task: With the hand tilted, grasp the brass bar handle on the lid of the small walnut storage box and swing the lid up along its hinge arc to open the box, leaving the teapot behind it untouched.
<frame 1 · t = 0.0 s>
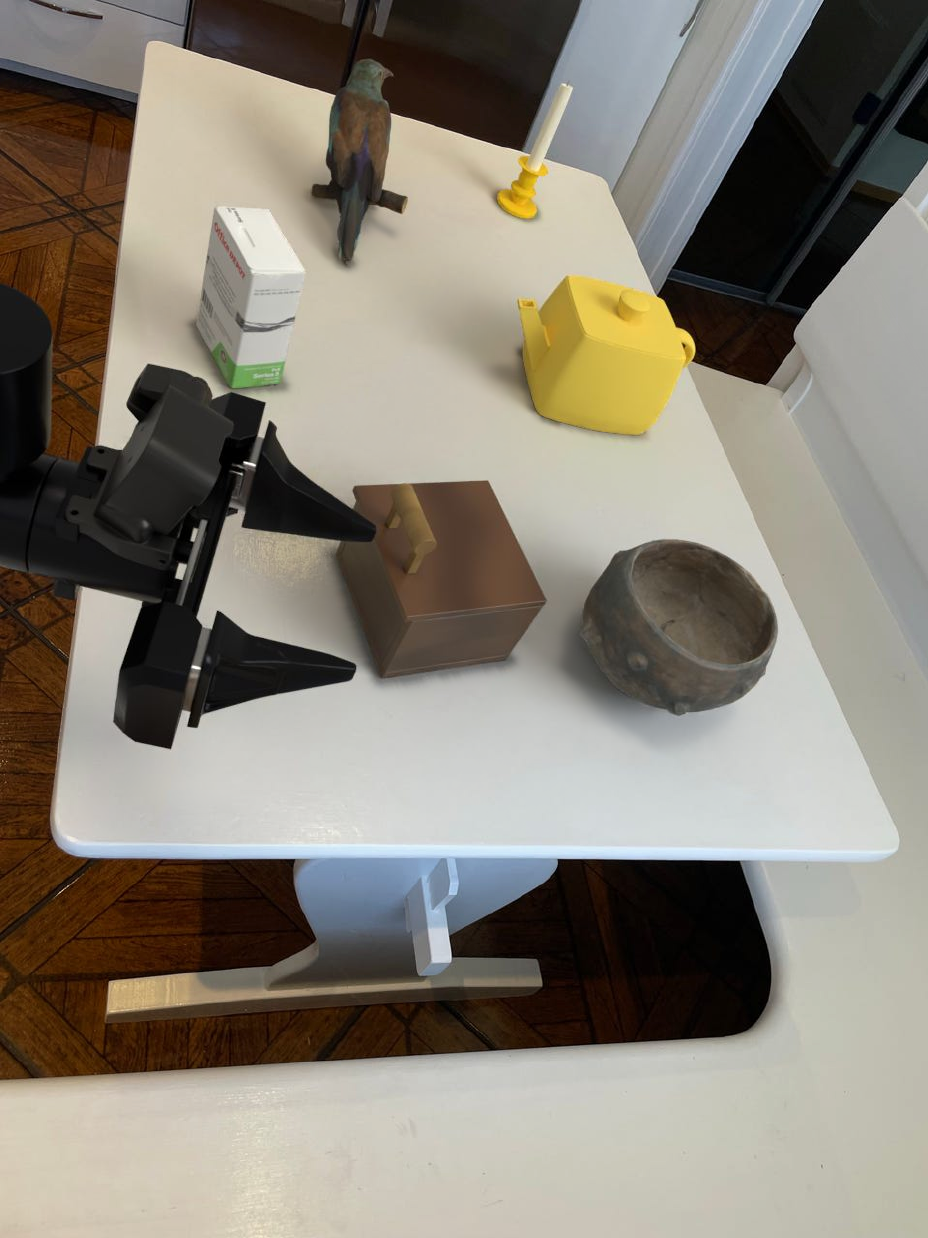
hand: (365, 599, 48), 18 cm above the table, tool horizontal, fingers open, 9 cm apart
bird figurine: (353, 215, 102), on the table
candle: (515, 207, 116), on the table
ink box: (236, 355, 82), on the table
teapot: (573, 391, 97), on the table
bowl: (637, 669, 77), on the table
chest: (420, 607, 72), on the table
lid: (458, 528, 65), point 10 cm above the table, hinge at 0.0°
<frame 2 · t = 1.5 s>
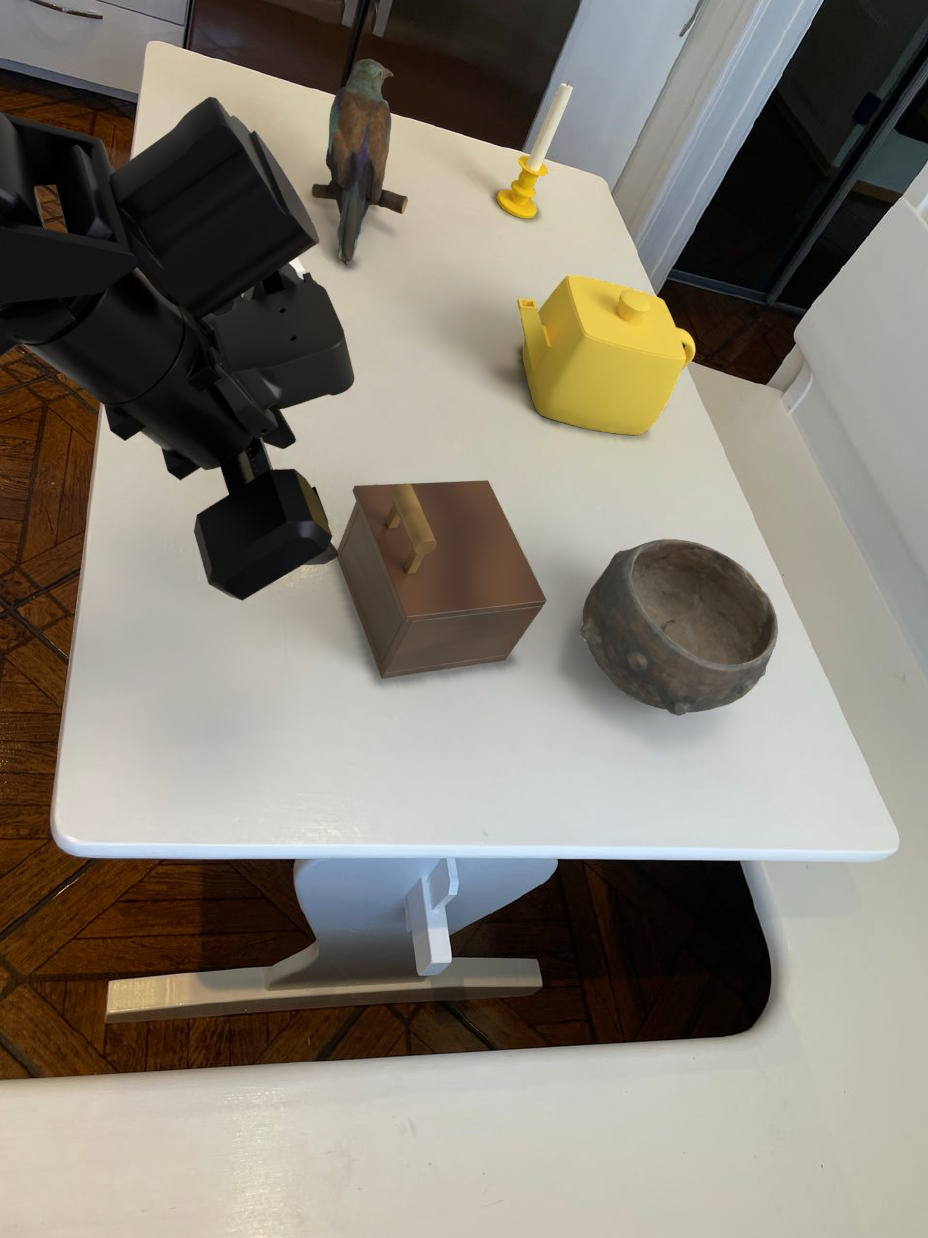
hand: (309, 498, 56), 14 cm above the table, tool tilted 45°, fingers open, 9 cm apart
nothing on the table moved.
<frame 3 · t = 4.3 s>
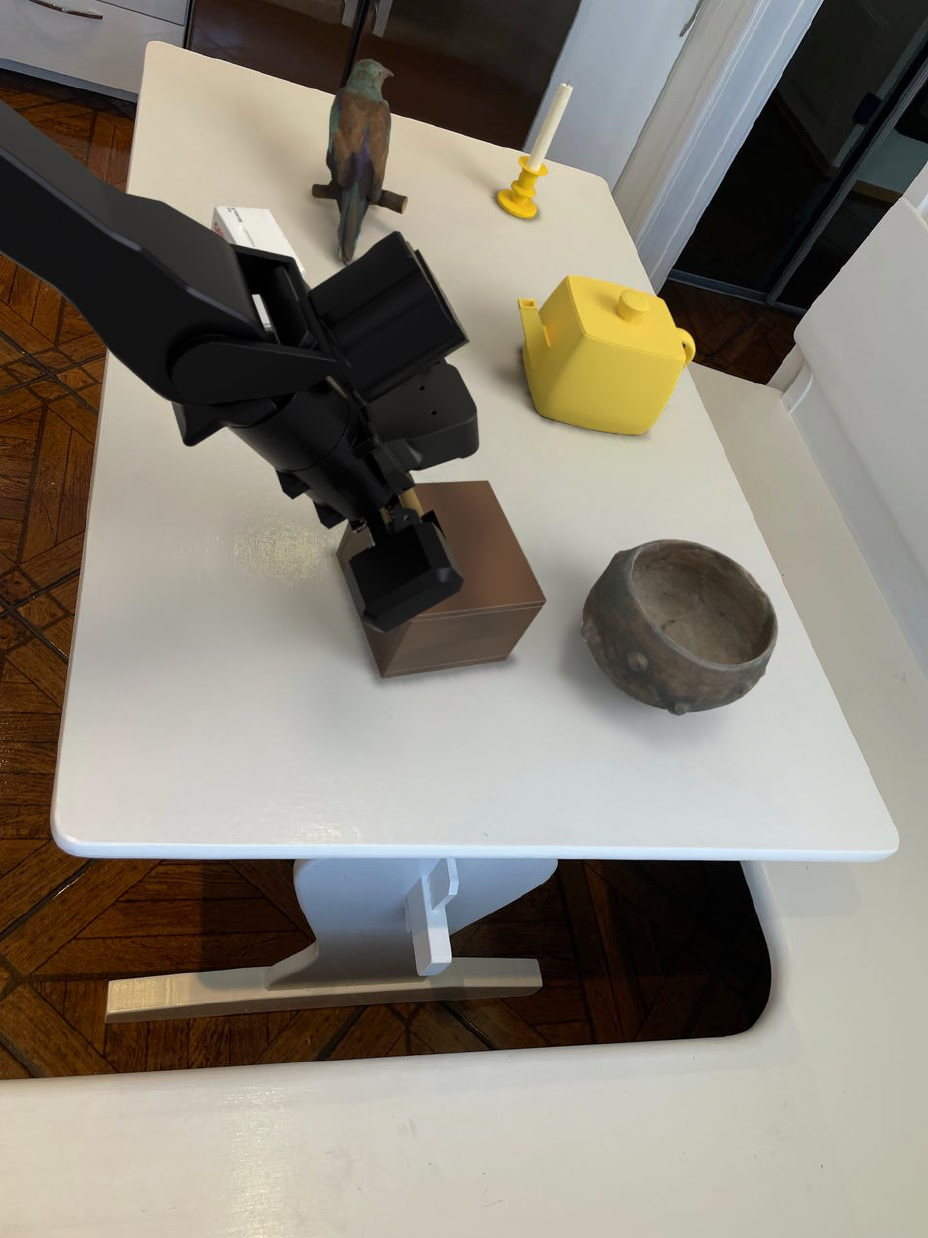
hand: (421, 539, 65), 9 cm above the table, tool tilted 45°, fingers closed on lid, 5 cm apart
lid: (458, 528, 65), point 10 cm above the table, hinge at 0.0°, touching gripper
everything else where it was.
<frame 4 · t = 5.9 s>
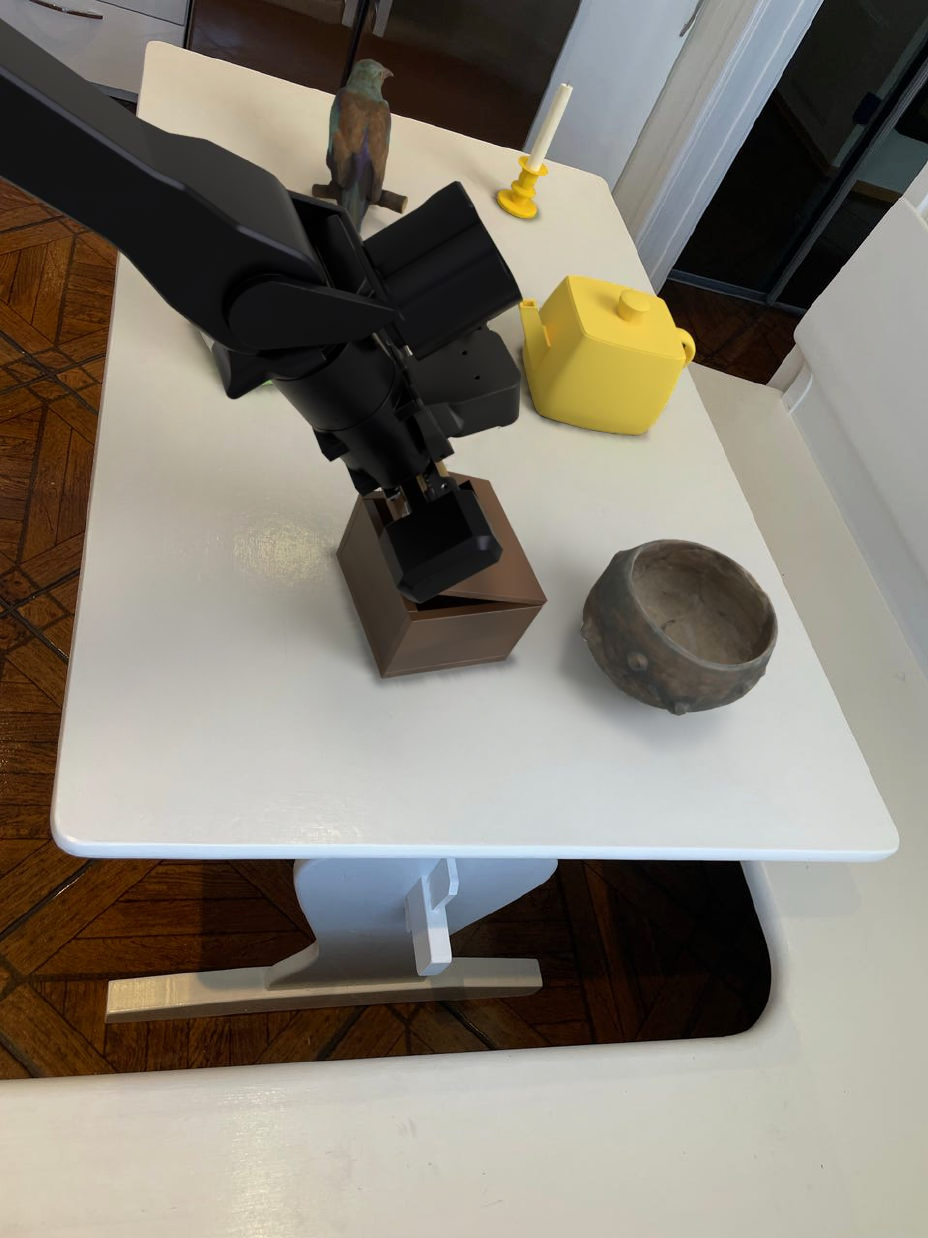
hand: (448, 515, 63), 11 cm above the table, tool tilted 40°, fingers closed on lid, 5 cm apart
lid: (475, 514, 64), point 11 cm above the table, hinge at 16.6°, touching gripper
everything else where it was.
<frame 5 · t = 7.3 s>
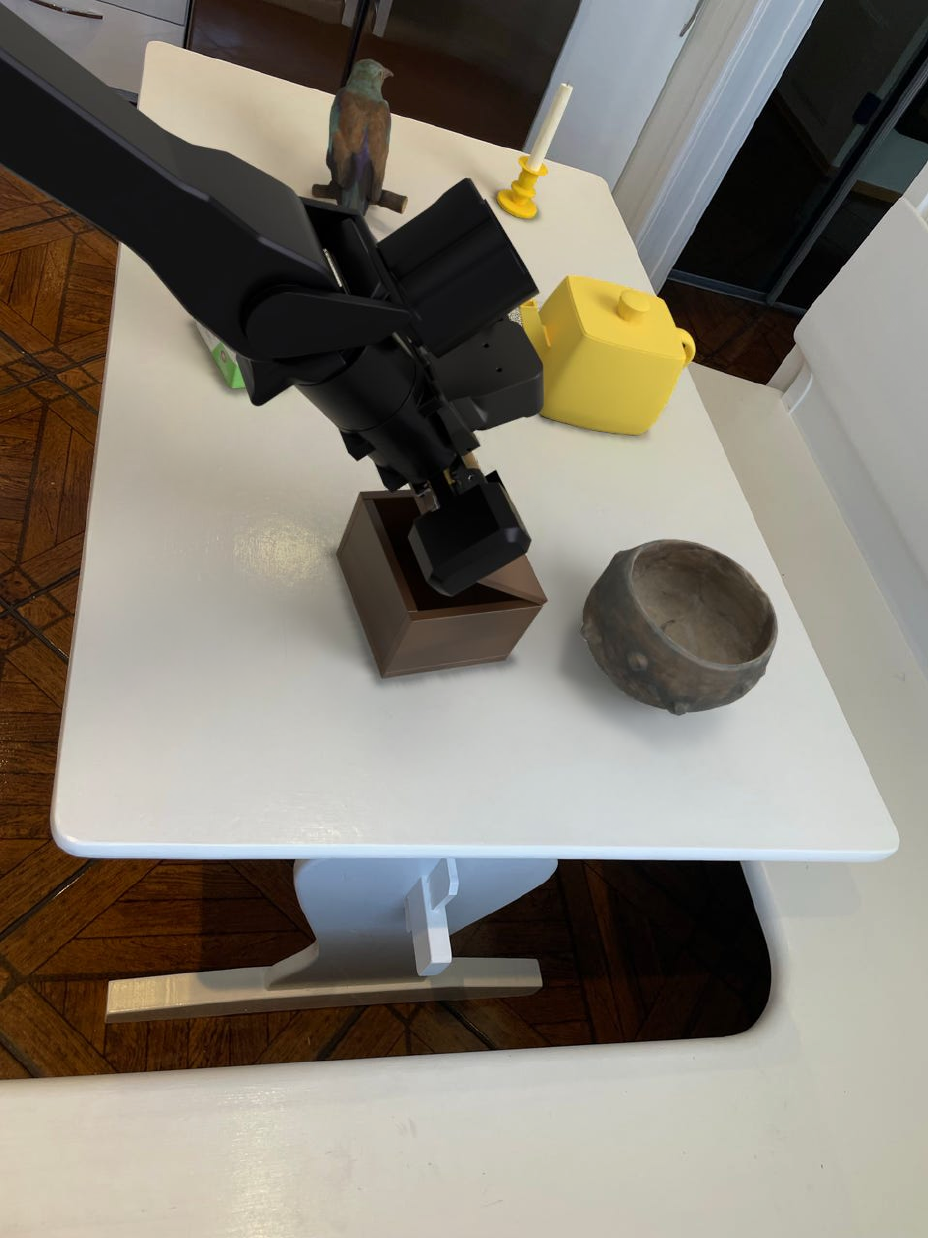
hand: (480, 504, 64), 12 cm above the table, tool tilted 45°, fingers closed on lid, 5 cm apart
lid: (489, 504, 64), point 12 cm above the table, hinge at 28.2°, touching gripper
everything else where it was.
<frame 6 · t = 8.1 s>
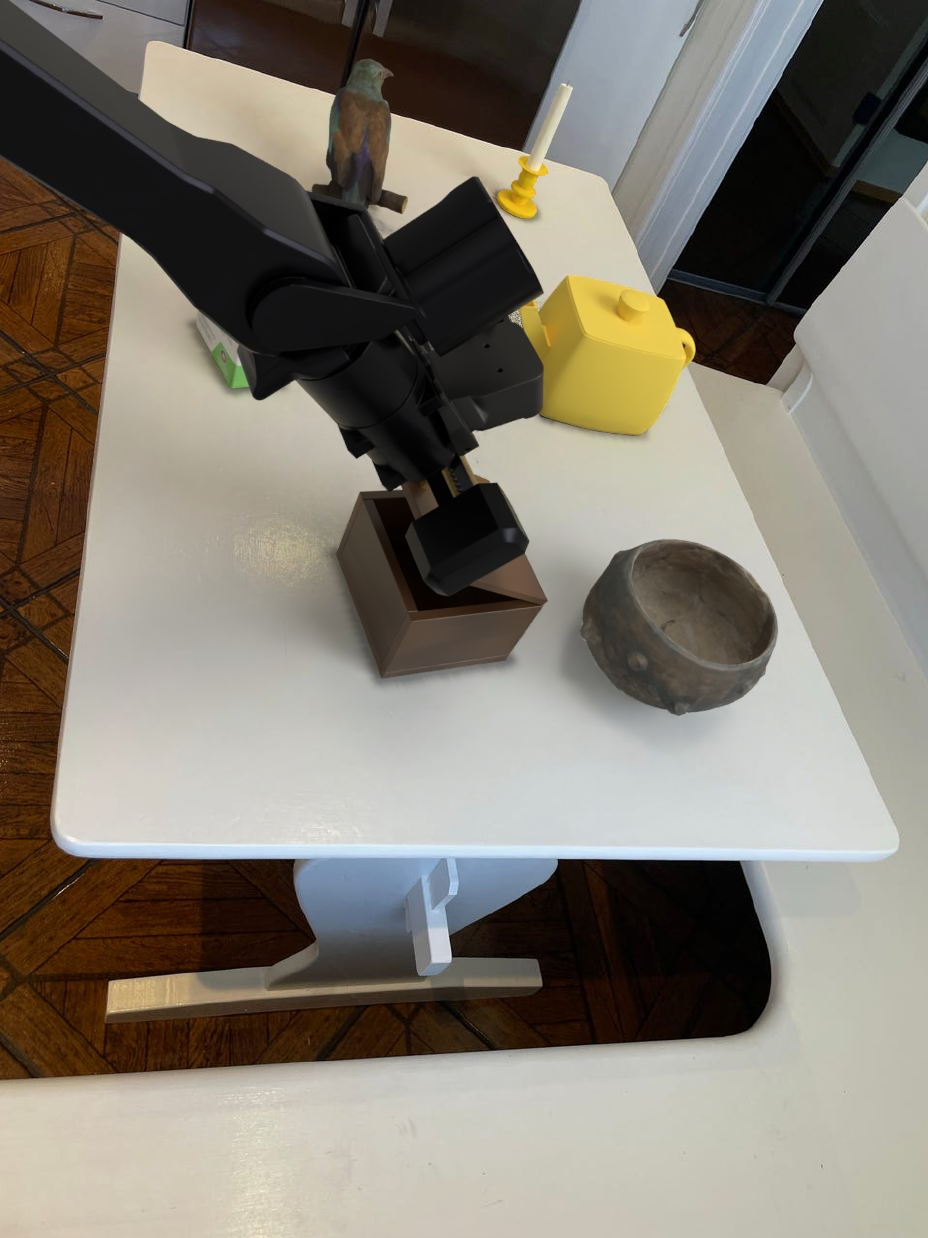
hand: (474, 506, 64), 12 cm above the table, tool tilted 45°, fingers open, 9 cm apart
lid: (486, 507, 64), point 12 cm above the table, hinge at 25.2°
everything else where it was.
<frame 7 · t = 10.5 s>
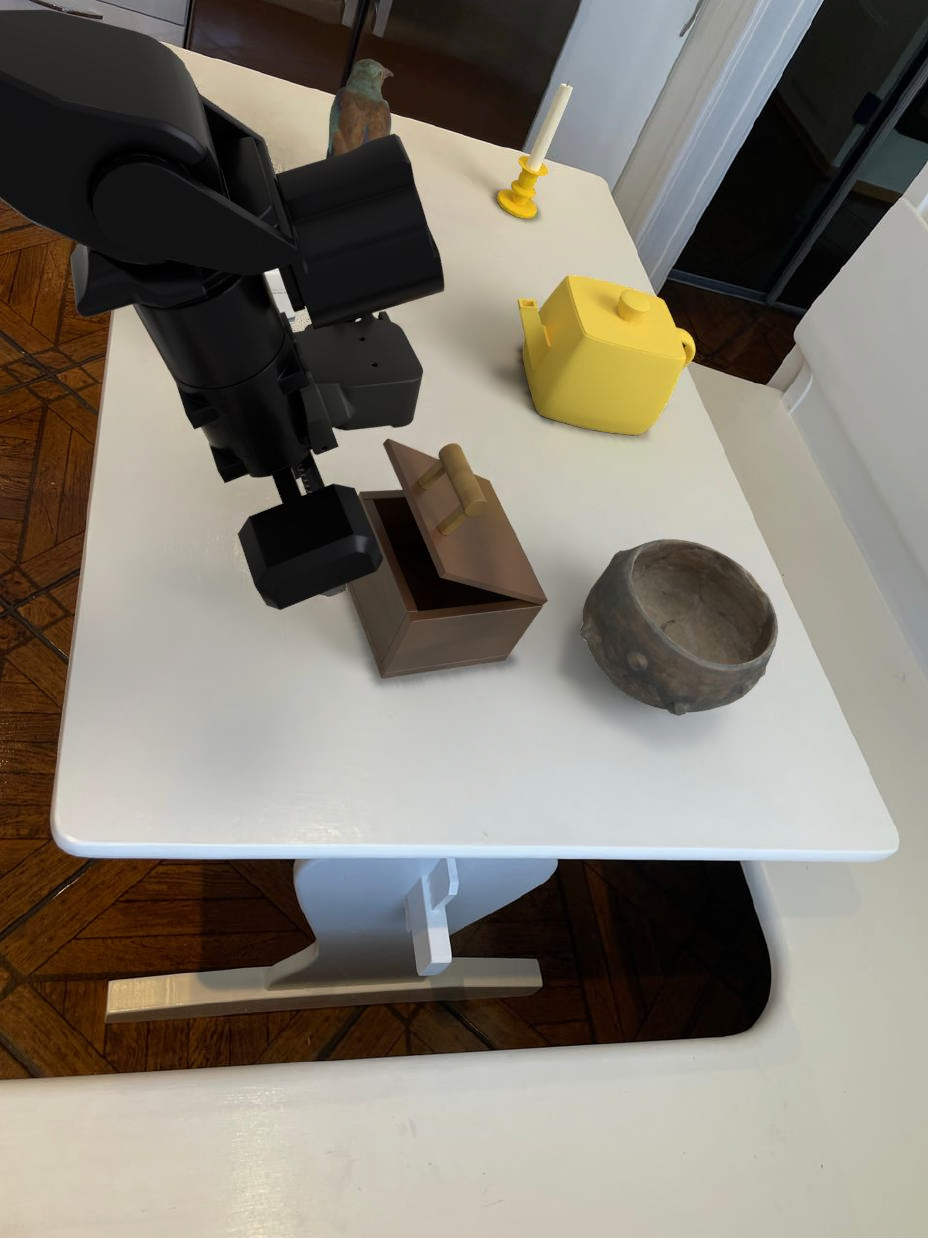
hand: (313, 532, 56), 13 cm above the table, tool tilted 30°, fingers open, 9 cm apart
nothing on the table moved.
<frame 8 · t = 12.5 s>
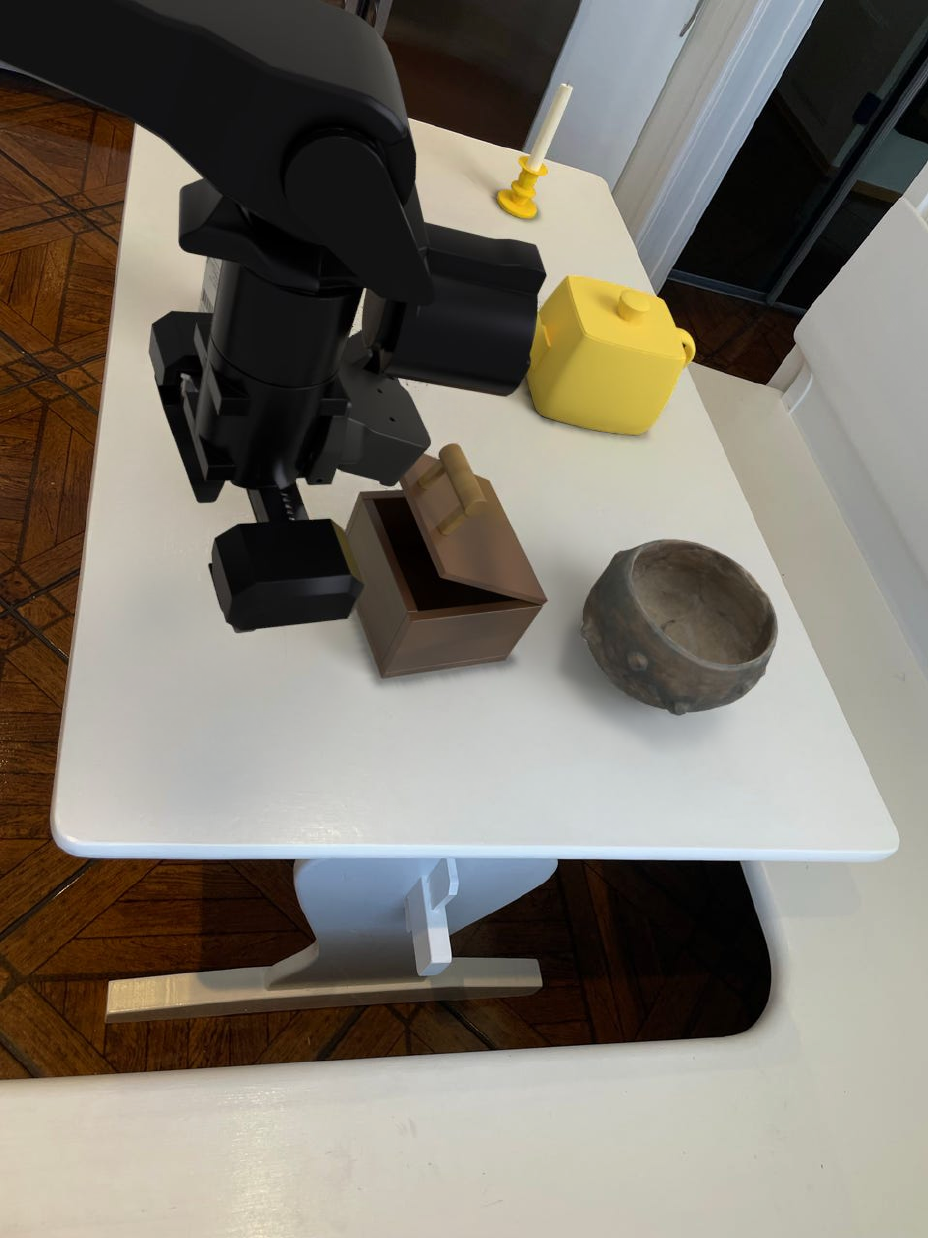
hand: (224, 562, 52), 13 cm above the table, tool pointing down, fingers open, 9 cm apart
nothing on the table moved.
at the end: lid at +25° (first picture: +0°); teapot moved 0.2 cm from its start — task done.
